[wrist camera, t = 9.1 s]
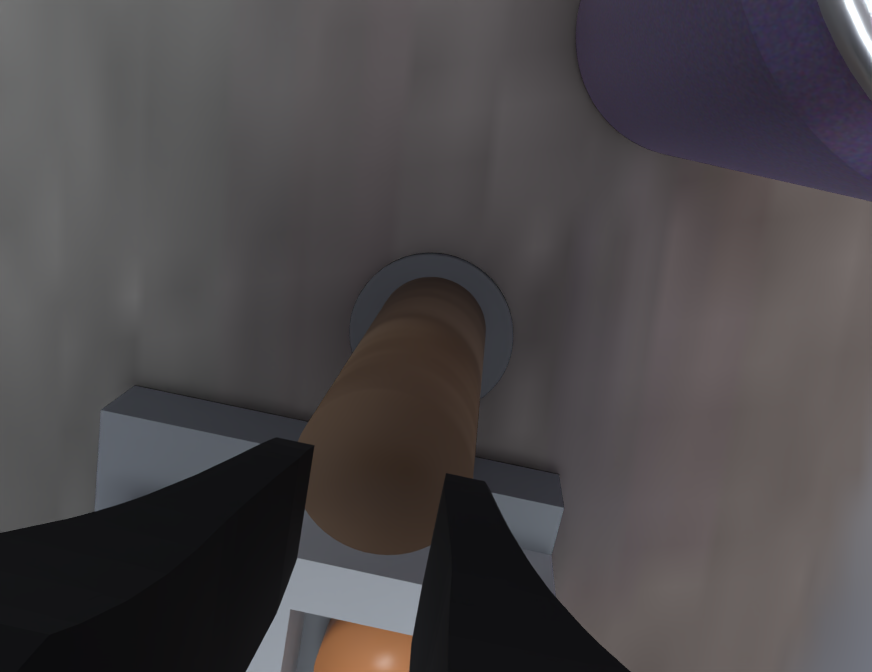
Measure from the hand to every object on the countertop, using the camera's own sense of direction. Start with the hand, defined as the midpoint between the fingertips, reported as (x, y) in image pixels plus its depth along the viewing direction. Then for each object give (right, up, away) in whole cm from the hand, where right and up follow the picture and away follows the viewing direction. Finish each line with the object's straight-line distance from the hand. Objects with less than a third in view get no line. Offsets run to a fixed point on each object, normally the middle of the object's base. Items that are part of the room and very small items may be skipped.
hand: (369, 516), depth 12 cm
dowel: (+1, +3, +9) cm, 10 cm away
